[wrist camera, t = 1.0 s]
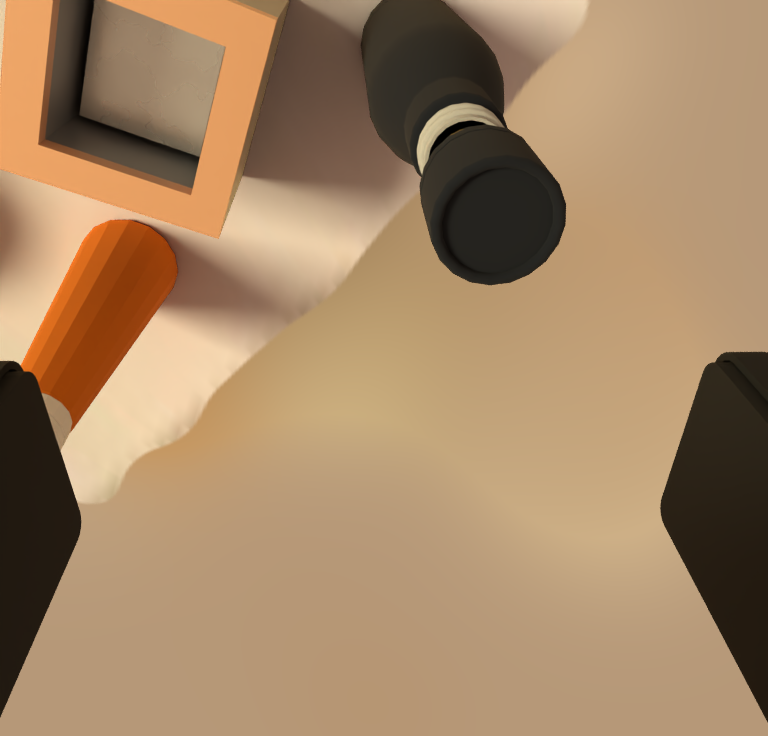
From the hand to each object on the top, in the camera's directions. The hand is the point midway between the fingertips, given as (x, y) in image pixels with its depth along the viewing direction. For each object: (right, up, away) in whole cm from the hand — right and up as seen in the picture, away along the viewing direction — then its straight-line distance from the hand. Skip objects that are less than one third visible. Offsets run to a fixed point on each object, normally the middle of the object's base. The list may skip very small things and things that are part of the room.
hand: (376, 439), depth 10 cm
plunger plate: (-13, +18, +29) cm, 37 cm away
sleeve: (-13, +21, +34) cm, 42 cm away
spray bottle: (-20, +8, +42) cm, 48 cm away
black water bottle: (+2, +22, +34) cm, 41 cm away
